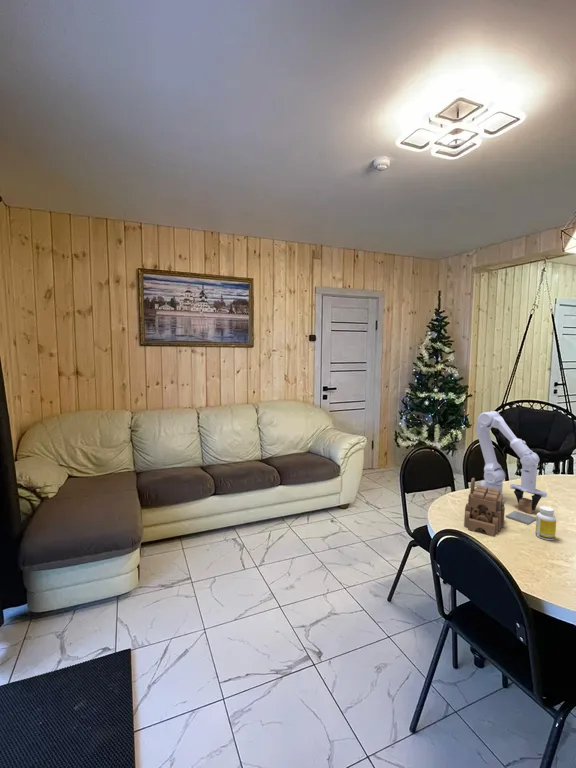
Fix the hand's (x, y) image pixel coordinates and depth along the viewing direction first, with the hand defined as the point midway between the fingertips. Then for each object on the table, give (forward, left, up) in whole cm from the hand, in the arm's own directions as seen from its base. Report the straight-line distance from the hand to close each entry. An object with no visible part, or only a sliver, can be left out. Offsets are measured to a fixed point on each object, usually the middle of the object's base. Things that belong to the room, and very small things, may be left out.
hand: (526, 507), depth 174 cm
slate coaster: (+2, -11, -1) cm, 11 cm away
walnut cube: (0, 0, -1) cm, 1 cm away
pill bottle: (+15, -22, -2) cm, 27 cm away
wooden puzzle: (-5, -29, -2) cm, 30 cm away
